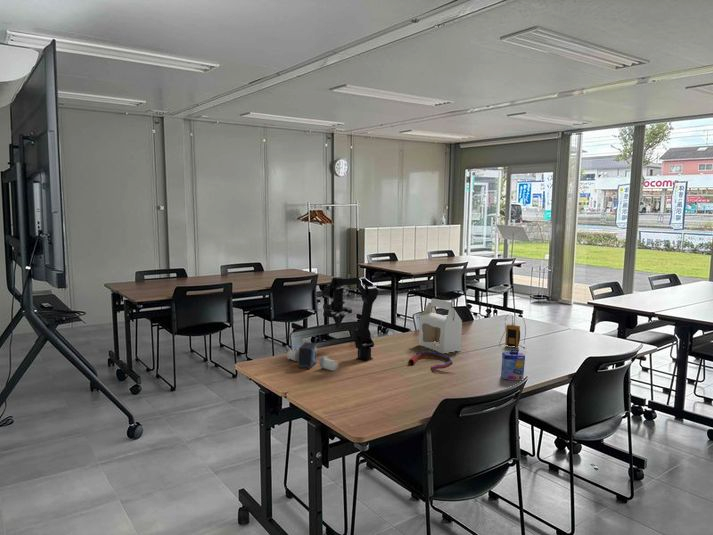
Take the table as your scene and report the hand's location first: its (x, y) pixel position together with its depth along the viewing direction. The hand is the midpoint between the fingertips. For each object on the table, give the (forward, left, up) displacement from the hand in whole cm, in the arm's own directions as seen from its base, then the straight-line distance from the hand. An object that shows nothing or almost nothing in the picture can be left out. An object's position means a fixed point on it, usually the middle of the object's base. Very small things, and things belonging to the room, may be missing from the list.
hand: (337, 327), depth 288 cm
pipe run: (-8, +30, -13) cm, 34 cm away
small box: (-8, +32, -13) cm, 36 cm away
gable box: (-41, -43, -13) cm, 61 cm away
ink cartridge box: (-94, -17, -13) cm, 96 cm away
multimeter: (-72, -77, -13) cm, 106 cm away
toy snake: (-56, -13, -14) cm, 59 cm away
